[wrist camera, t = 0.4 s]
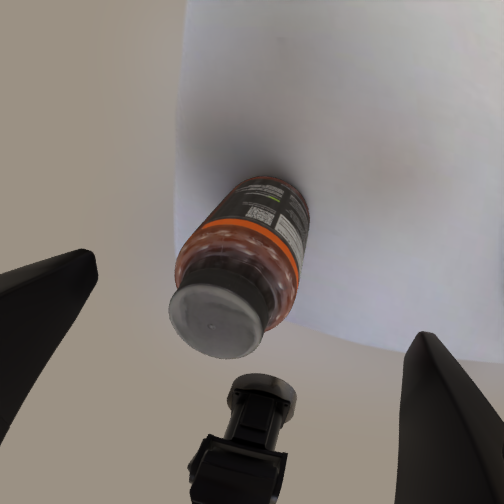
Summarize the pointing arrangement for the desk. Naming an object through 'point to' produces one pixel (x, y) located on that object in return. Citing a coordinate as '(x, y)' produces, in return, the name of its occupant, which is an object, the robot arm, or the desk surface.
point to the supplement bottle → (241, 269)
